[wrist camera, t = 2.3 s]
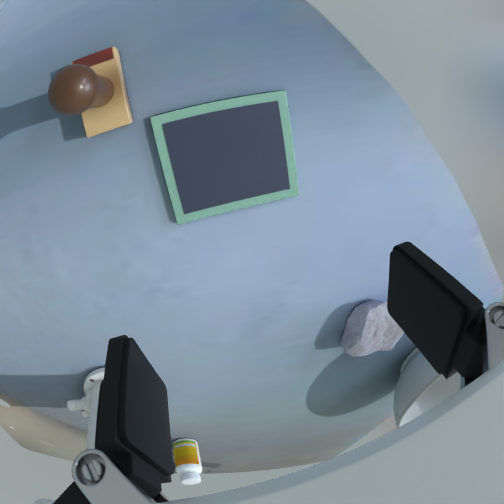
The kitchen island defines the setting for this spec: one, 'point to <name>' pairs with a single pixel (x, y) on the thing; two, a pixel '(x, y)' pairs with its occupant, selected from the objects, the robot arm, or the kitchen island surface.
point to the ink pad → (227, 154)
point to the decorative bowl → (420, 388)
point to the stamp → (93, 92)
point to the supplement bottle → (187, 460)
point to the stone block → (370, 330)
